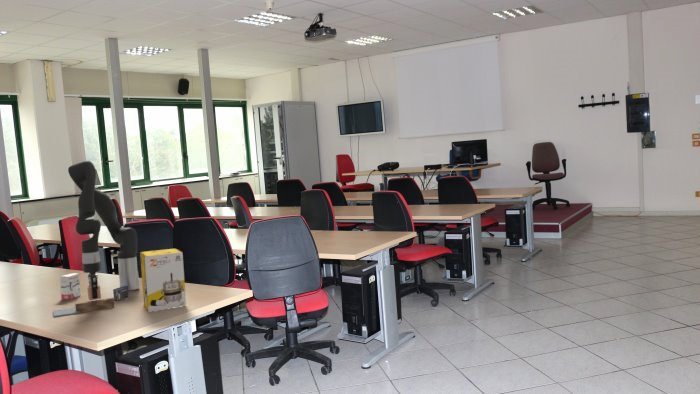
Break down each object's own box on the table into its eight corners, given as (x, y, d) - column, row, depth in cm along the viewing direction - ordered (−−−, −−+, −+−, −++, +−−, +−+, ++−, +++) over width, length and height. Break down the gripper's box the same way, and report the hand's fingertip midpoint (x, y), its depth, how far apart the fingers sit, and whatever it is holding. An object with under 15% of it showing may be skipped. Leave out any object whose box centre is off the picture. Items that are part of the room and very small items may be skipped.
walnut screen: (113, 306, 262) (113, 297, 261) (114, 306, 260) (113, 298, 260) (75, 312, 254) (75, 303, 254) (76, 312, 252) (75, 304, 252)
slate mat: (77, 308, 261) (77, 306, 261) (79, 313, 251) (78, 312, 251) (53, 311, 256) (53, 310, 256) (53, 317, 246) (53, 316, 246)
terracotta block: (99, 296, 266) (98, 283, 266) (100, 298, 262) (99, 285, 262) (88, 298, 264) (87, 285, 263) (89, 300, 259) (88, 287, 259)
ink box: (69, 299, 280) (67, 276, 280) (61, 299, 281) (59, 276, 281) (81, 295, 289) (79, 272, 288) (72, 295, 290) (71, 273, 289)
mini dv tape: (116, 301, 271) (115, 289, 271) (114, 301, 272) (113, 289, 271) (128, 297, 279) (127, 285, 279) (126, 297, 280) (125, 285, 279)
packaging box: (148, 312, 247) (144, 256, 245) (143, 305, 261) (140, 252, 260) (186, 306, 254) (182, 252, 253) (179, 299, 268) (175, 248, 267)
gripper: (101, 262, 257) (104, 298, 259) (98, 258, 270) (101, 293, 271) (84, 264, 254) (87, 301, 255) (81, 260, 266) (84, 295, 267)
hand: (94, 296), depth 263 cm, fingers closed on terracotta block, 5 cm apart
